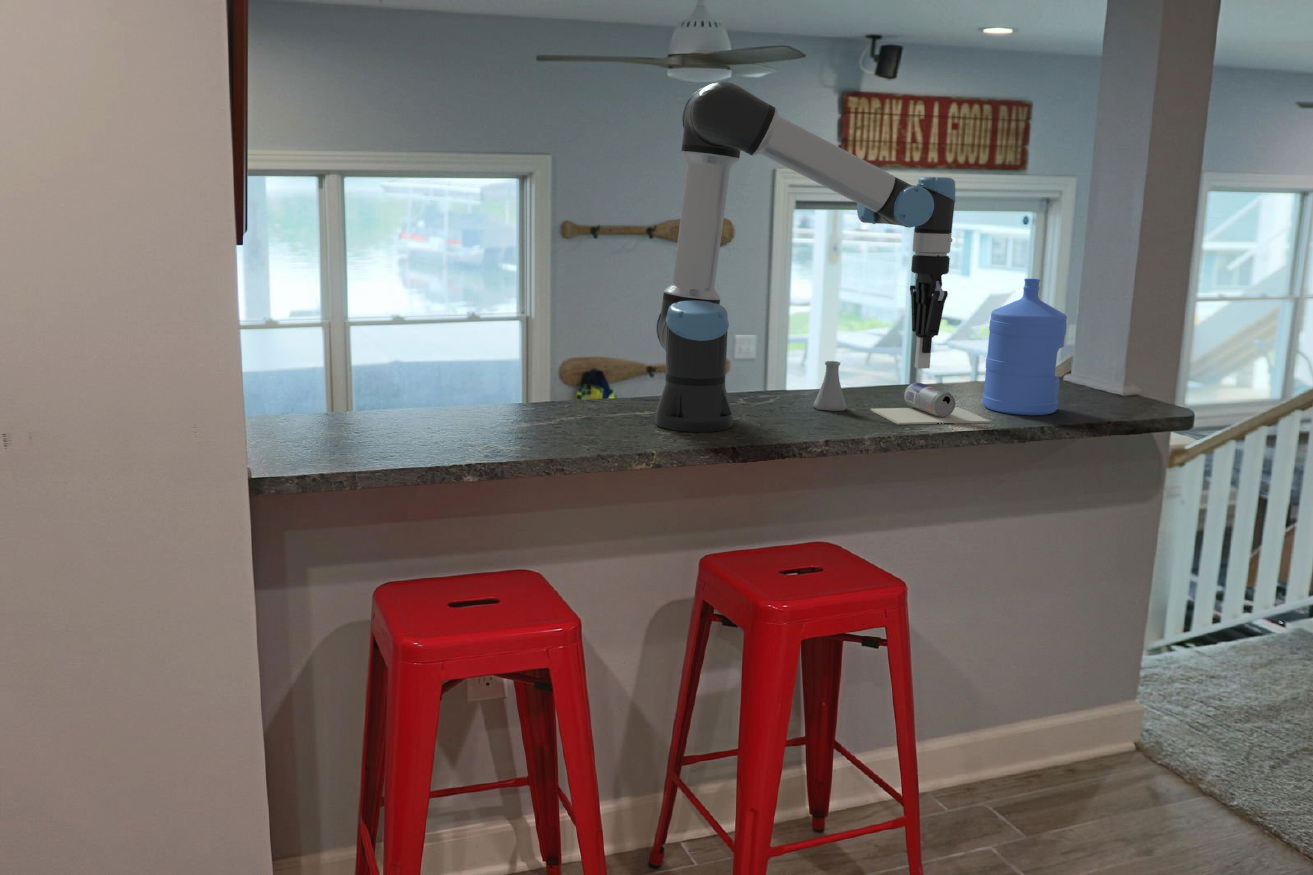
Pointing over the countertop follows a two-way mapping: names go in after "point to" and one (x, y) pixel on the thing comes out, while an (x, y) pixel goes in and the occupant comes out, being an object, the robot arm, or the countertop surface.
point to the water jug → (1024, 355)
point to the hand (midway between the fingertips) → (922, 367)
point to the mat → (927, 416)
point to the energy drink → (929, 399)
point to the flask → (831, 390)
